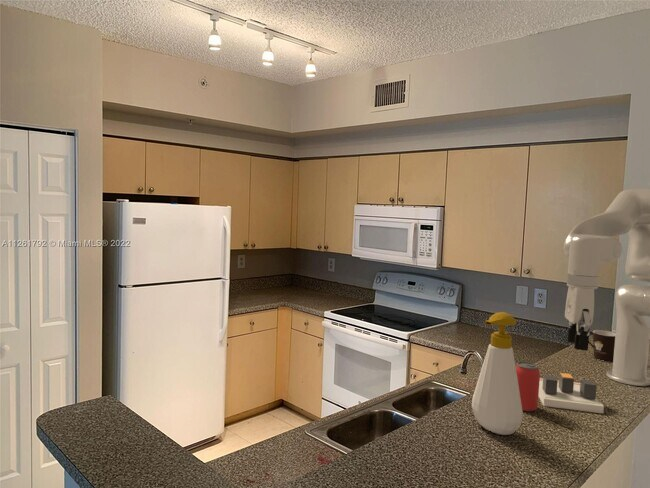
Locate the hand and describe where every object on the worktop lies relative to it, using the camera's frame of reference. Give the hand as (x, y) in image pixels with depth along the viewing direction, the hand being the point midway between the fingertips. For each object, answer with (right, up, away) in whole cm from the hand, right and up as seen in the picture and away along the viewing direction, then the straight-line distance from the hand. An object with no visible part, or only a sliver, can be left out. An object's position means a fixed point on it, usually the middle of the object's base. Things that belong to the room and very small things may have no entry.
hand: (577, 345), depth 131 cm
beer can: (-14, -17, +1) cm, 23 cm away
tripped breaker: (+1, -15, +9) cm, 17 cm away
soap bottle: (-28, -18, -15) cm, 37 cm away
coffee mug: (+36, -16, +51) cm, 65 cm away
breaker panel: (+1, -17, +9) cm, 19 cm away
